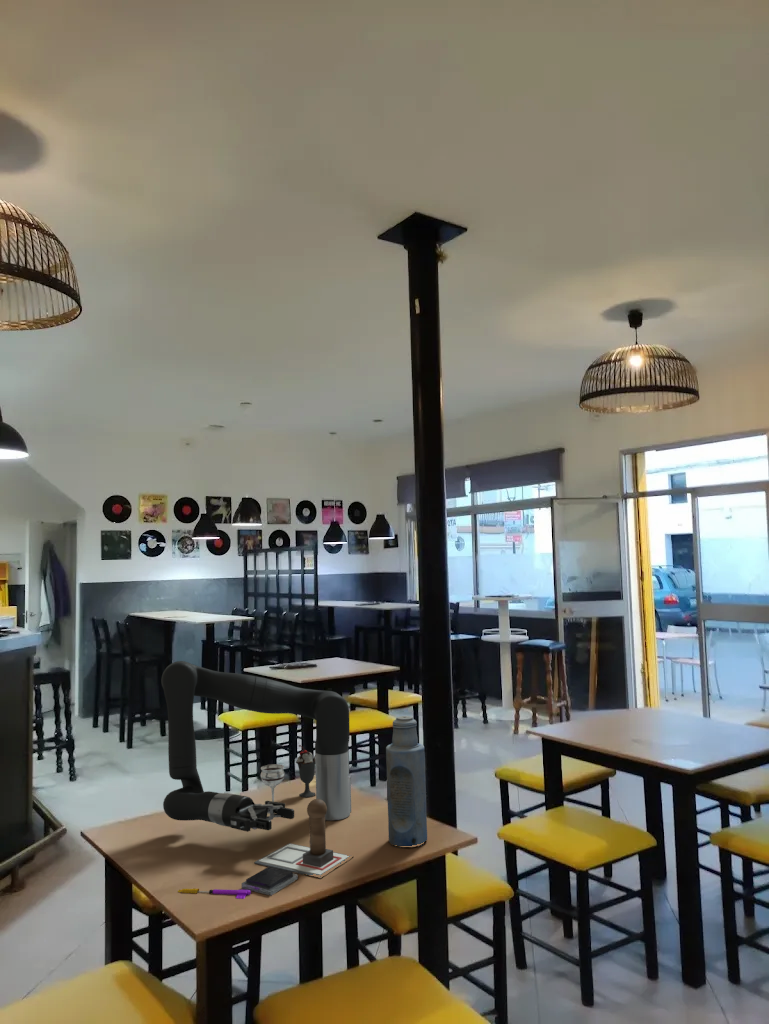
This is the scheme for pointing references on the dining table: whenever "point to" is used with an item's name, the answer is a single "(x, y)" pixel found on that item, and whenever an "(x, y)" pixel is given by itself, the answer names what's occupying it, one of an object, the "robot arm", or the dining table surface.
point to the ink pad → (269, 880)
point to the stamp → (317, 835)
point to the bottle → (406, 785)
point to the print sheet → (297, 860)
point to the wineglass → (272, 776)
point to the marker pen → (220, 892)
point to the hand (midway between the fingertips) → (282, 819)
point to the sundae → (306, 771)
